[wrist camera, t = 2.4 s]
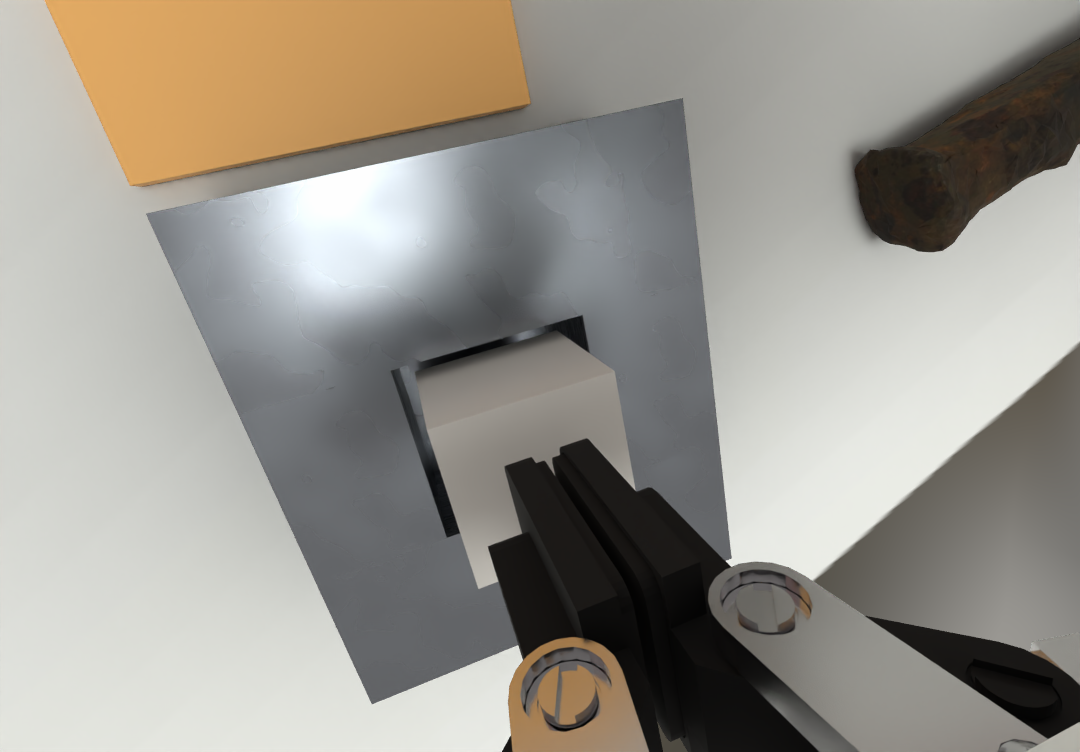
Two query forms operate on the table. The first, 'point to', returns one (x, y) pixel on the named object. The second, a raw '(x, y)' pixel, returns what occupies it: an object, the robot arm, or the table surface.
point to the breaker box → (449, 350)
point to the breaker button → (514, 427)
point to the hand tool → (974, 156)
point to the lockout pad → (283, 74)
